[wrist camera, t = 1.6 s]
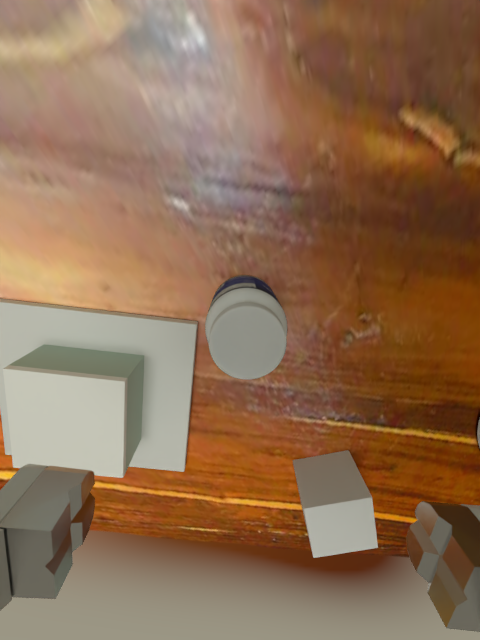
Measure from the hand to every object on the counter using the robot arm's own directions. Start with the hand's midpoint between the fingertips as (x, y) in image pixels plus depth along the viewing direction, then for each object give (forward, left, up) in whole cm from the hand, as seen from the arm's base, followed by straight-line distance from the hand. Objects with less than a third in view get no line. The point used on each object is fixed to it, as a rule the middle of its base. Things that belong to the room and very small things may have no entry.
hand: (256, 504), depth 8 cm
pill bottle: (0, 0, -21) cm, 21 cm away
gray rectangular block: (-11, +18, -21) cm, 30 cm away
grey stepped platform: (+13, +10, -21) cm, 27 cm away
